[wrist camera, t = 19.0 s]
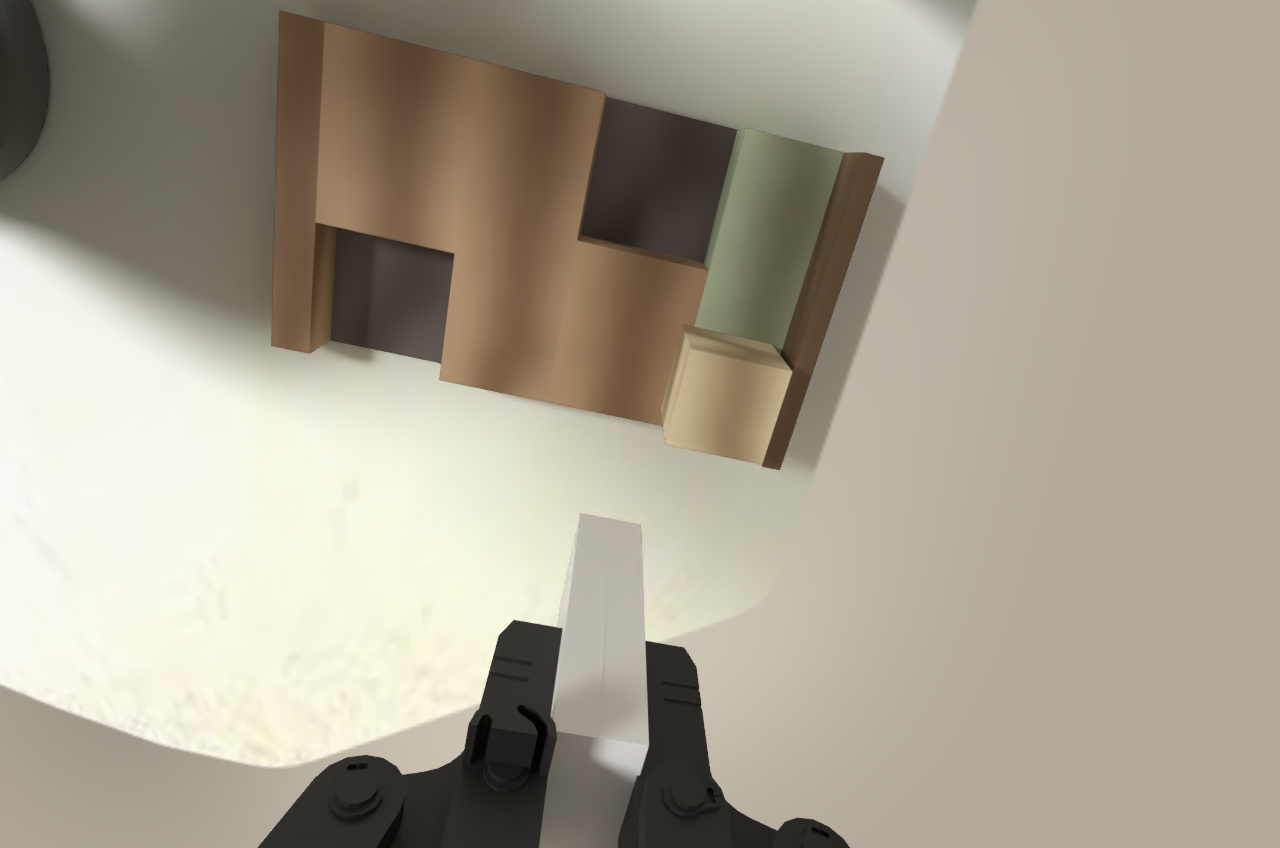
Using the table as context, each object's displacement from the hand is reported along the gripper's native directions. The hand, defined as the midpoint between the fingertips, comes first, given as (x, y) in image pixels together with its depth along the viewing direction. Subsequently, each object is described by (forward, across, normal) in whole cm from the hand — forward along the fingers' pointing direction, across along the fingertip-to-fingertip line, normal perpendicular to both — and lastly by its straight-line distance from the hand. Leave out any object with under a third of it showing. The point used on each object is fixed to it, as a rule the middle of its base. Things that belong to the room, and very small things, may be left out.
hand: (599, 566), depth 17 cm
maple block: (+21, +6, -1) cm, 22 cm away
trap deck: (+24, -4, +4) cm, 25 cm away
